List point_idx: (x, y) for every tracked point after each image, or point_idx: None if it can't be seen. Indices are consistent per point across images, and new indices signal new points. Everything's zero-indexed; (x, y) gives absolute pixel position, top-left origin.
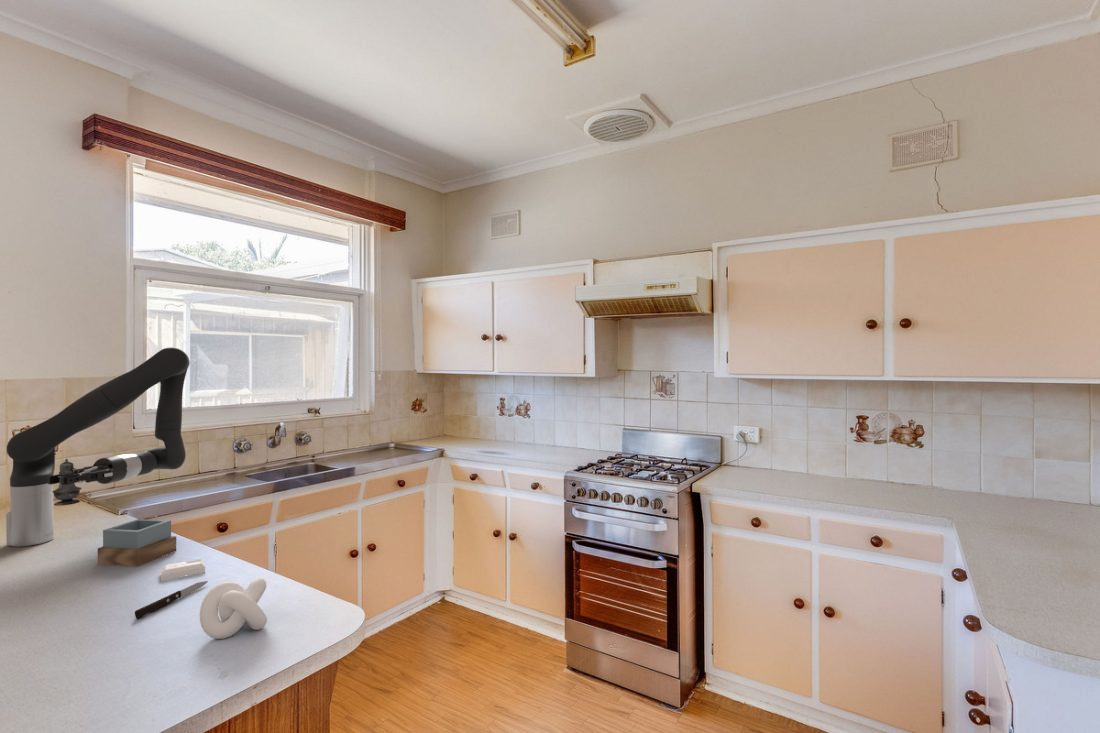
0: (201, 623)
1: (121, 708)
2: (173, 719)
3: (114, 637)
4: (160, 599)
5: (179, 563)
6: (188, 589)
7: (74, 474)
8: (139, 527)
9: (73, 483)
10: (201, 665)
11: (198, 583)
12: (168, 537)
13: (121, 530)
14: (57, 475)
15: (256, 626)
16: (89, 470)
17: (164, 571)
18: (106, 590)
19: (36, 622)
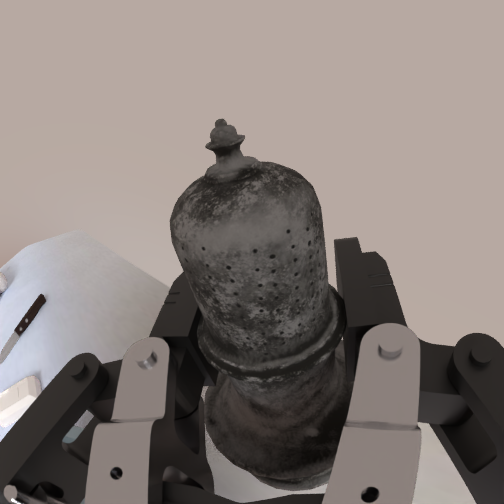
0: (5, 277)
1: (42, 244)
2: (26, 247)
3: (55, 279)
4: (27, 312)
5: (15, 399)
6: (10, 341)
7: (180, 321)
8: None
9: (232, 385)
10: (14, 270)
11: (2, 351)
12: None
13: (79, 433)
14: (340, 277)
15: None
16: (100, 441)
17: (28, 376)
18: (91, 351)
19: (125, 282)
